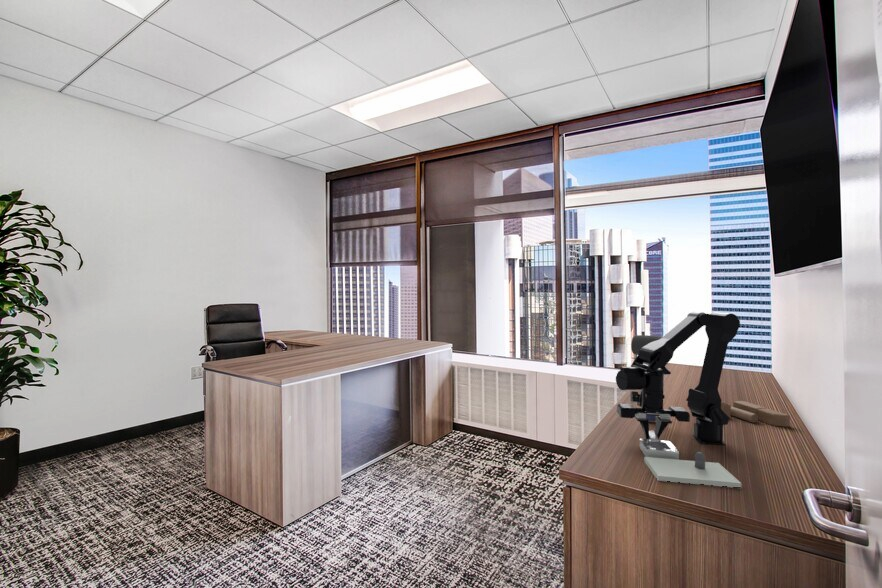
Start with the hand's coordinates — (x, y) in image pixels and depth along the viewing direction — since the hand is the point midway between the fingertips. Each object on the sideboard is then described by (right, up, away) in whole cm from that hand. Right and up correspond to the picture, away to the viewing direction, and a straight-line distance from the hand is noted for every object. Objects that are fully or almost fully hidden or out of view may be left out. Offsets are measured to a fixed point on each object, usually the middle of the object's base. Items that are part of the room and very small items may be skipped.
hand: (651, 440), depth 121 cm
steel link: (-1, -1, -4) cm, 4 cm away
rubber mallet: (+10, -1, +20) cm, 22 cm away
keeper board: (-1, -1, -19) cm, 19 cm away
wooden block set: (+45, -1, +22) cm, 50 cm away
